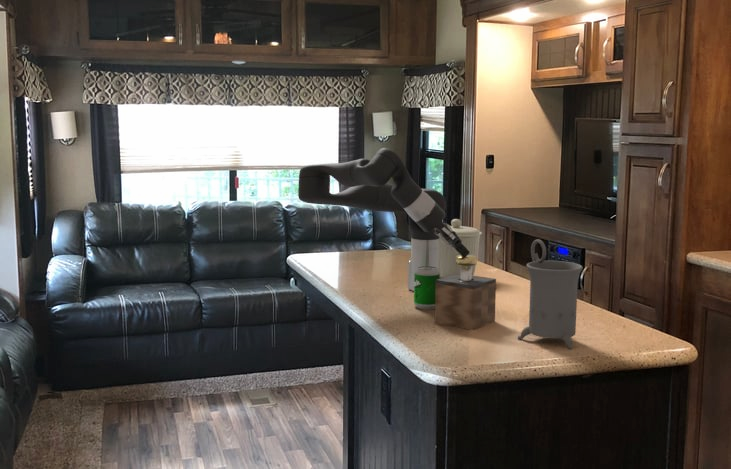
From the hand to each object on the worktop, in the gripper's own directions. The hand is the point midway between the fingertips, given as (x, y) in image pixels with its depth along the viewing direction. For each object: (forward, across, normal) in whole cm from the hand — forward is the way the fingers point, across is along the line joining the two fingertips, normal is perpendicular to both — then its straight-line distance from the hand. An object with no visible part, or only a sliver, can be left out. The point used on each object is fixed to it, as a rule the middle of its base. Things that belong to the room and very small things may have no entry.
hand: (466, 254), depth 214 cm
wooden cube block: (+14, 0, -13) cm, 19 cm away
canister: (+25, -61, -2) cm, 66 cm away
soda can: (+10, -19, -18) cm, 27 cm away
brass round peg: (+9, 0, -9) cm, 13 cm away
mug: (+25, +21, -2) cm, 32 cm away
